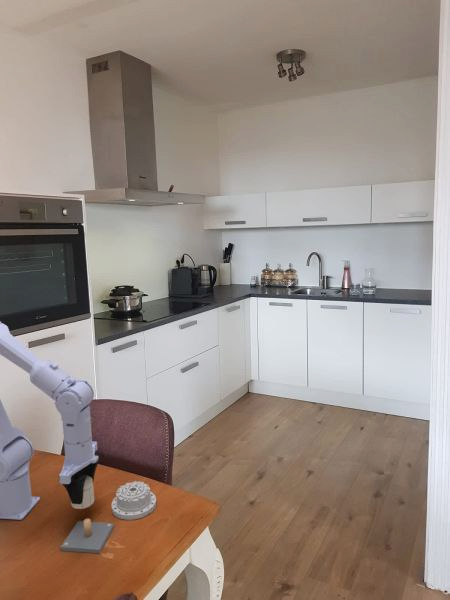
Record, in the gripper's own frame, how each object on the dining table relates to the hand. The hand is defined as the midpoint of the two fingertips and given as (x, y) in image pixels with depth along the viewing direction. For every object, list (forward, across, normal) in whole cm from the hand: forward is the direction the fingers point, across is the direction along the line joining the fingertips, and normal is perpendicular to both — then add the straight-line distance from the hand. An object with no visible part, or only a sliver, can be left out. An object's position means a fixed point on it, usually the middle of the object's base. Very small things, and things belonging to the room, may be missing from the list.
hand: (82, 496), depth 101 cm
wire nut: (+2, 0, 0) cm, 2 cm away
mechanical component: (+5, +4, -10) cm, 12 cm away
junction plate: (+5, -7, -4) cm, 9 cm away
